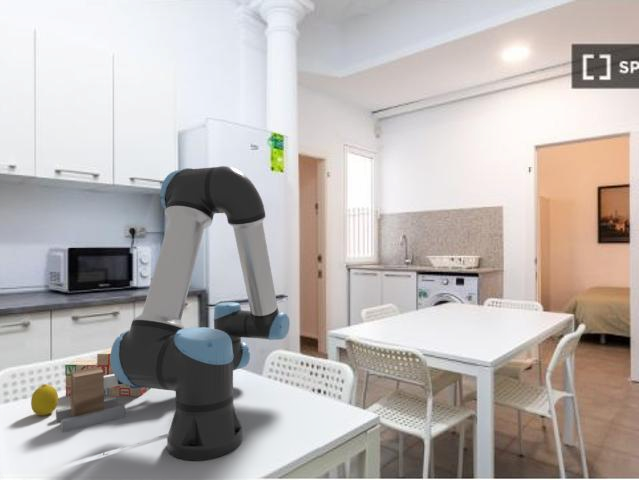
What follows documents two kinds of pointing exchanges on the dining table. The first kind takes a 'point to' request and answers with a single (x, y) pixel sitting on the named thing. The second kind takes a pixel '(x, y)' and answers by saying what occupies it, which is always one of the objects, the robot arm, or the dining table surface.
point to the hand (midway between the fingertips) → (101, 382)
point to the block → (87, 391)
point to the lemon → (44, 400)
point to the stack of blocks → (105, 366)
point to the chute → (90, 415)
